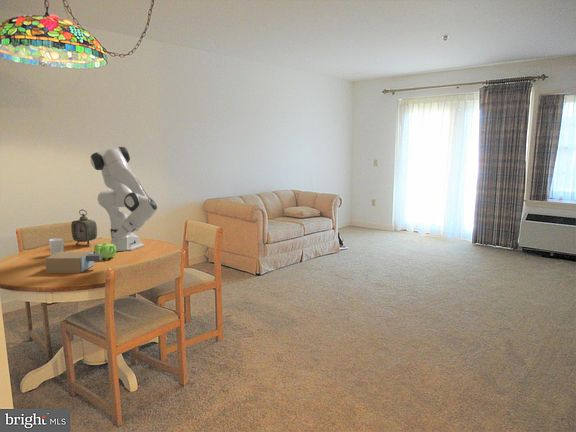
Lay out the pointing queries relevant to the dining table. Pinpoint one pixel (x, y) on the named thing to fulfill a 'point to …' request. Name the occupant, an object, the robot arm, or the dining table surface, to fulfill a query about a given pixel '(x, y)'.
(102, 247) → the teapot
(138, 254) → the dining table surface
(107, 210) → the robot arm
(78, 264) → the sleeve
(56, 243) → the white cup
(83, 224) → the tabletop clock
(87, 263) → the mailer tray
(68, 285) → the dining table surface
